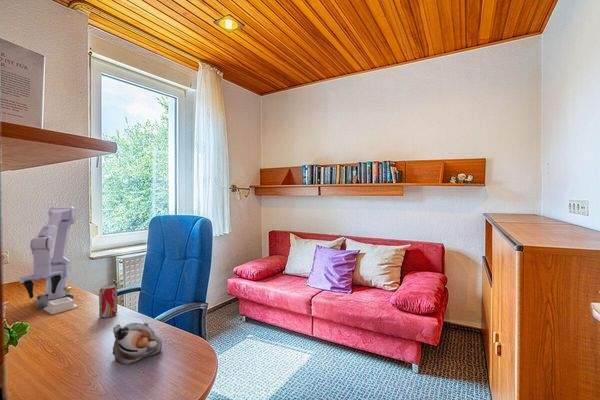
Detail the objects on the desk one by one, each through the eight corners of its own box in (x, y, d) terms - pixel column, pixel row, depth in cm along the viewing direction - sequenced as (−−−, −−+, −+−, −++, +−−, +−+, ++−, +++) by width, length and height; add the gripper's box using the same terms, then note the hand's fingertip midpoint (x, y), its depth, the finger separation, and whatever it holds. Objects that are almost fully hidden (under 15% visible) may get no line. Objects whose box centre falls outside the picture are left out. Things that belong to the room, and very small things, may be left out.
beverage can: (111, 318, 121) (110, 289, 121) (95, 318, 121) (95, 288, 121) (120, 312, 127) (120, 284, 127) (105, 312, 127) (105, 284, 127)
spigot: (35, 307, 132) (35, 295, 132) (46, 305, 135) (46, 292, 135) (38, 310, 130) (38, 297, 130) (50, 307, 133) (50, 294, 133)
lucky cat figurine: (170, 345, 100) (172, 316, 94) (147, 379, 90) (147, 349, 83) (129, 330, 101) (128, 300, 95) (101, 362, 91) (98, 331, 84)
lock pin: (61, 296, 138) (61, 287, 138) (70, 294, 141) (70, 285, 141) (64, 298, 136) (64, 289, 136) (73, 296, 139) (73, 287, 139)
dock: (41, 308, 132) (41, 300, 132) (70, 300, 141) (70, 293, 141) (51, 314, 125) (51, 306, 125) (81, 306, 134) (81, 298, 134)
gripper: (23, 269, 124) (23, 302, 124) (65, 262, 136) (66, 292, 136) (17, 266, 128) (18, 298, 128) (59, 260, 140) (60, 289, 140)
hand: (42, 295), depth 132 cm, fingers open, 7 cm apart
